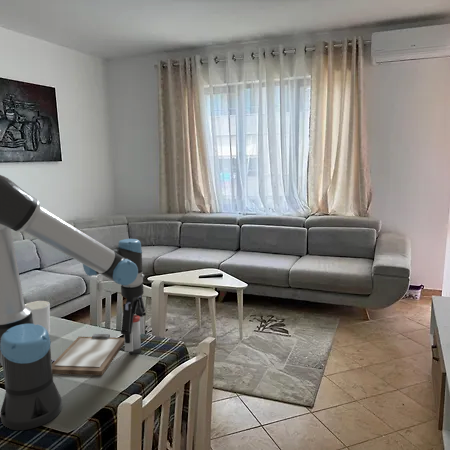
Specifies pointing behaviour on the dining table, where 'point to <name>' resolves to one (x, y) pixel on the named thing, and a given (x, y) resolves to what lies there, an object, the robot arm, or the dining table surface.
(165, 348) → the dining table surface
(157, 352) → the dining table surface
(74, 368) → the clipboard
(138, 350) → the marker
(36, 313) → the candle holder
